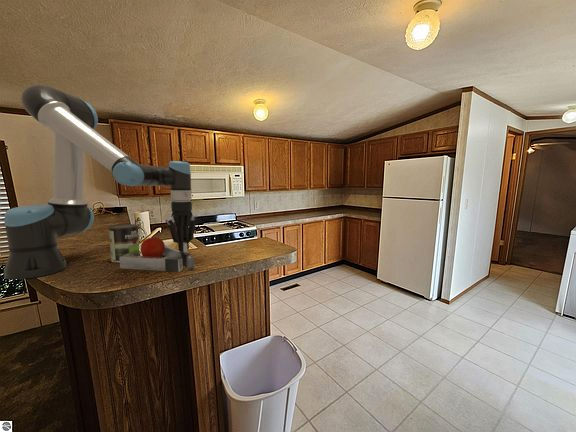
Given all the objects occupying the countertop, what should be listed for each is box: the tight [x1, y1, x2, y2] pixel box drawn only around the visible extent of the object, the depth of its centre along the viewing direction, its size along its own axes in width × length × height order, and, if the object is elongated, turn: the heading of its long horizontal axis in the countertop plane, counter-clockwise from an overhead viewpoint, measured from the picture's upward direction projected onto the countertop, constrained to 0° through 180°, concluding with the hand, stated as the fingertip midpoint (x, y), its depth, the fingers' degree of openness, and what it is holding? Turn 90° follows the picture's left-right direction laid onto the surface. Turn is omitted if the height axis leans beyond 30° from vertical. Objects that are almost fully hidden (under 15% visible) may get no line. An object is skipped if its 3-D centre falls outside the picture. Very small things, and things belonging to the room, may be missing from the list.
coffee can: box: [107, 223, 141, 264], centre depth 99 cm, size 10×10×14 cm
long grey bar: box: [119, 254, 195, 273], centre depth 89 cm, size 27×5×5 cm, turn 84°
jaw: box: [161, 245, 192, 267], centre depth 98 cm, size 23×4×4 cm, turn 51°
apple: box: [139, 237, 165, 257], centre depth 94 cm, size 9×8×11 cm
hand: (184, 258), depth 98 cm, fingers closed
